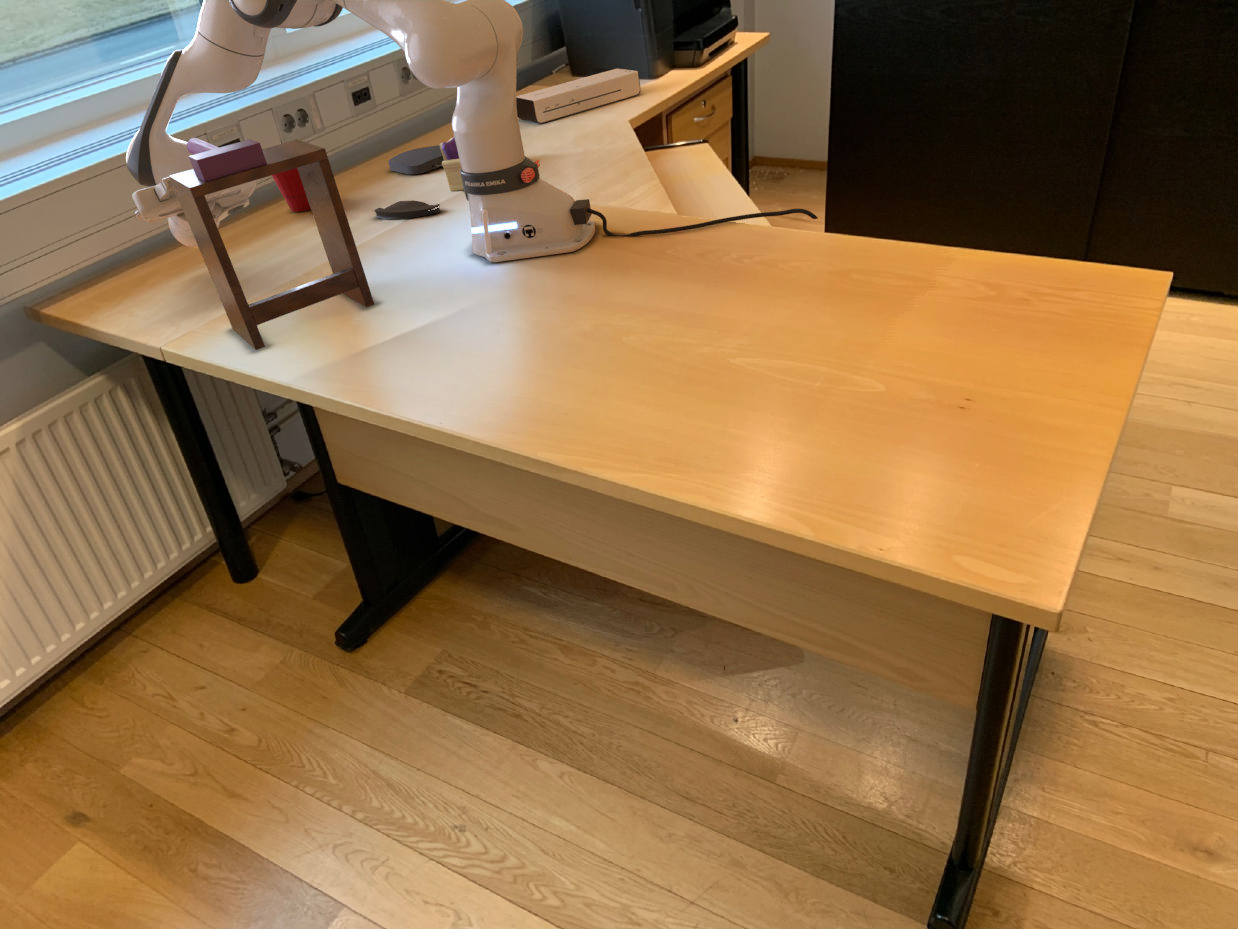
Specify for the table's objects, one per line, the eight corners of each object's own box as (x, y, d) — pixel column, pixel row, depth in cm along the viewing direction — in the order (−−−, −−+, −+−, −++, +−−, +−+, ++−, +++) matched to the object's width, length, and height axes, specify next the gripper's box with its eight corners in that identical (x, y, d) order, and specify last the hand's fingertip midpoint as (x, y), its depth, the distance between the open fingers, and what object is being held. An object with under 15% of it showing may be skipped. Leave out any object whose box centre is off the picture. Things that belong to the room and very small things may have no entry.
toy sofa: (485, 189, 192) (474, 140, 186) (448, 192, 194) (436, 144, 188) (512, 160, 209) (503, 115, 203) (478, 163, 211) (468, 119, 205)
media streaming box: (384, 170, 219) (381, 158, 217) (434, 153, 226) (431, 141, 224) (415, 177, 209) (411, 164, 207) (466, 159, 216) (463, 146, 215)
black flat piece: (420, 222, 179) (418, 214, 178) (374, 218, 186) (372, 210, 185) (448, 208, 184) (446, 200, 183) (402, 204, 191) (400, 197, 190)
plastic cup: (269, 215, 199) (249, 161, 193) (303, 199, 207) (285, 146, 200) (303, 217, 194) (284, 161, 188) (337, 200, 202) (320, 146, 195)
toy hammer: (170, 162, 138) (161, 143, 137) (226, 147, 142) (219, 127, 141) (205, 181, 124) (196, 160, 122) (267, 163, 128) (259, 142, 126)
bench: (346, 287, 153) (297, 139, 139) (374, 304, 145) (325, 148, 131) (233, 329, 144) (168, 175, 131) (256, 350, 136) (189, 187, 122)
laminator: (537, 125, 236) (532, 100, 233) (515, 120, 245) (511, 96, 242) (641, 94, 249) (638, 70, 246) (617, 90, 259) (614, 67, 255)
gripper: (126, 203, 154) (123, 173, 142) (241, 170, 163) (247, 139, 151) (144, 237, 155) (142, 210, 143) (257, 202, 164) (265, 174, 152)
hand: (197, 173), depth 147 cm, fingers open, 8 cm apart
